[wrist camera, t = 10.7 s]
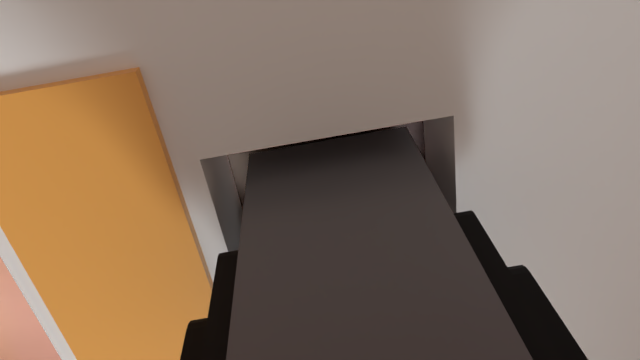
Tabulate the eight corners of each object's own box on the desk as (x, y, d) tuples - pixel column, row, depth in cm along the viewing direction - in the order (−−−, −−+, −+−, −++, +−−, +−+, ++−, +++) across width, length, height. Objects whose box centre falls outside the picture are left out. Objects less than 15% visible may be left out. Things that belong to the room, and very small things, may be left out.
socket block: (1267, -261, 11) (1605, -313, 8) (968, 242, 18) (1096, 308, 15) (-56, -21, 12) (-163, 6, 9) (143, 381, 19) (119, 470, 16)
